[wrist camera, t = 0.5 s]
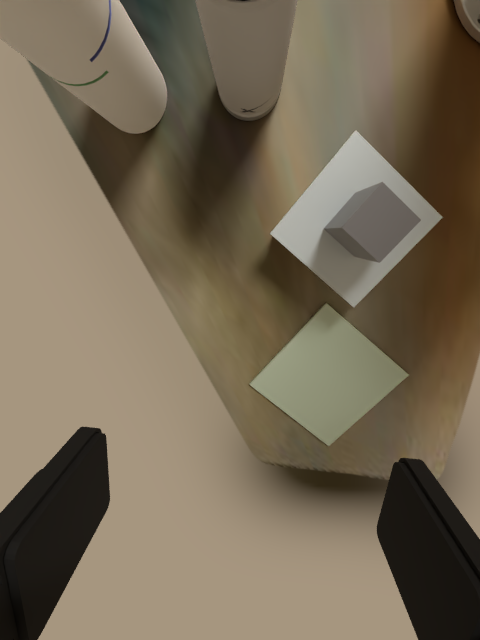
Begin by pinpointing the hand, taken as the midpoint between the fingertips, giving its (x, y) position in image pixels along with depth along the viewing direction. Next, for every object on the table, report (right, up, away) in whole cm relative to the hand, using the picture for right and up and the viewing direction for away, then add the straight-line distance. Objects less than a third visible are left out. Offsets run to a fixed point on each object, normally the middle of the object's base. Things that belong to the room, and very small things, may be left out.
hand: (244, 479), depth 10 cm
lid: (+10, +14, +19) cm, 26 cm away
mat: (+11, -2, +29) cm, 31 cm away
